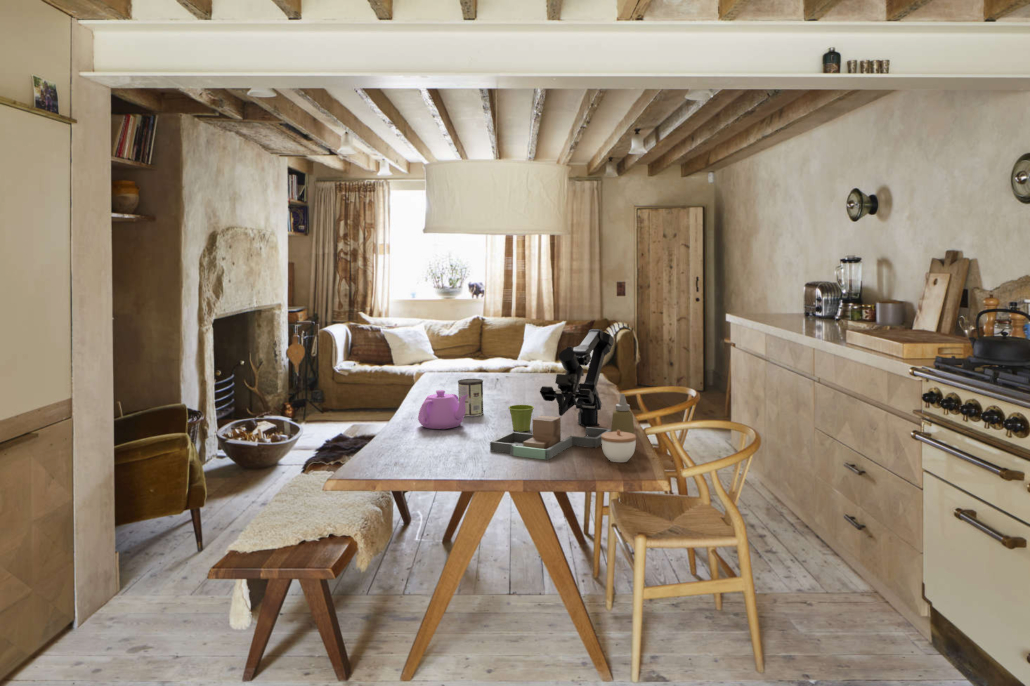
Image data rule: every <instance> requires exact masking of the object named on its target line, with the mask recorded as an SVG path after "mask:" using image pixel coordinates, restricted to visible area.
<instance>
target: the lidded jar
mask: <svg viewBox="0 0 1030 686" xmlns="http://www.w3.org/2000/svg"><path fill="white" fill-rule="evenodd" d="M601 439H602V440H601V442H602V445H601V448H602V452H603V454H604V456H605V457H606V459H608V461H609V460H610V461H609V462H612V463H626V462H628V461H629V460H630V459H631V458H632V457H633V455H634V453H635V451H636V444H637V443H636V441H637V435H636V434H635V433H634V434H632V433H628V432H620V430H617V432H606V433H603V434H602V435H601Z"/></svg>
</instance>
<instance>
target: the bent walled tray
mask: <svg viewBox="0 0 1030 686" xmlns="http://www.w3.org/2000/svg"><path fill="white" fill-rule="evenodd" d="M606 432H611V428H604V427H603V428H602V427H594V426H585V436H577V435H576V436H575V435H570V436H568V437H566V438H564V439H562V440H561V441H560V442H559V443H557V444H555V445H553V446H551V447H550V448H548V449H540V448H531V447H523V442H524V441H526V440H528V439H530V438H532V437H533V433H525V432H517V431H511V432H509V433H507V434H505V435H502V436H501V437H498V438H496V439H494V440H491V441H490V442H489V449H490V450H489V451H490V452H495V451H498V452H497V453H503V452H505V454H510V456H514V457H520V458H521V457H522V458H531V459H539V460H547V461H549V460H550V459H552V458H553V456H554V457H555V456H557V455H559V454H560V453H562V452H564V451H565V450H567V449H569V448H571V447H572V446H573V445H578V446H577V447H582V446H586V447H585V448H590V447H595V448H594V449H597V448H599V447H600V446H602V445H601V444H602V442H601V440H602V439H601V435H602V434H603V433H606ZM586 435H588V436H586ZM571 445H572V446H571ZM599 445H600V446H599ZM570 446H571V447H570ZM598 446H599V447H598ZM568 447H569V448H568ZM596 447H597V448H596ZM566 448H567V449H566ZM563 450H564V451H563ZM558 453H559V454H558ZM548 459H549V460H548Z"/></svg>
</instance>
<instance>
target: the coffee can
mask: <svg viewBox="0 0 1030 686" xmlns="http://www.w3.org/2000/svg"><path fill="white" fill-rule="evenodd" d="M483 382H484V380H483V379H481V378H463V379H459V380H457V383H458V386H457V387H458V388H457V389H458V390H457V391H458V400H459V401H458V402H460V398H461V397H462V396H465V395H468V396H467V397H466V399H465V408H466V412H465V415H464V417H467V416H474V417H480V416H483V415H484V414H483V413H484V383H483ZM482 414H483V415H482ZM479 415H480V416H479Z"/></svg>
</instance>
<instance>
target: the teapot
mask: <svg viewBox="0 0 1030 686" xmlns="http://www.w3.org/2000/svg"><path fill="white" fill-rule="evenodd" d="M467 396H468V395H465V396H462V397H461V398H460V402H459V395H457V394H454V393H450V394H449V393H446V390H445V389H439V390H436V391H435V393H434V394H429V395H427V396H426V397H425V399H424V401H423V402H422V404H421V406H420V408H419V411H418V418H417V420H418V422H419V423H420V425H421V426H422V427H423V428H426V429H432V430H440V429H444V430H447V429H453V428H456V427H457V428H458V427H459V426H460V425H461V424H462V423H463V421H464V419H465V416H464V415H465V412H466V408H465V399H466V397H467Z"/></svg>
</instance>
